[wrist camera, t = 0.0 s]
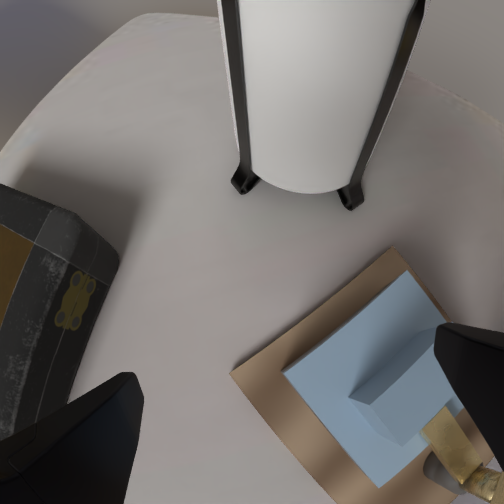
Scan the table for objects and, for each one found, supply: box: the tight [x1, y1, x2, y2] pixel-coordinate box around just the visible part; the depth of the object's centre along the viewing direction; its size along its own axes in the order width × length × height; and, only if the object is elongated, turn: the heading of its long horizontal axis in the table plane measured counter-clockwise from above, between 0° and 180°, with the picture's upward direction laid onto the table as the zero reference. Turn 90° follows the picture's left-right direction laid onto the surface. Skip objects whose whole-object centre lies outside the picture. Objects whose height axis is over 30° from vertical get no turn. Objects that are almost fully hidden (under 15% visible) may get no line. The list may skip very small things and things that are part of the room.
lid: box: [283, 270, 464, 488], centre depth 15 cm, size 10×10×6 cm
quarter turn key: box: [419, 405, 504, 504], centre depth 11 cm, size 10×7×6 cm
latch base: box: [229, 246, 494, 504], centre depth 18 cm, size 22×16×6 cm
